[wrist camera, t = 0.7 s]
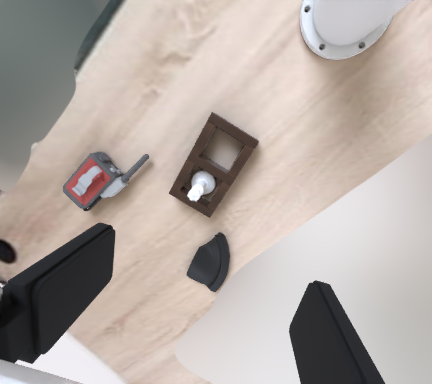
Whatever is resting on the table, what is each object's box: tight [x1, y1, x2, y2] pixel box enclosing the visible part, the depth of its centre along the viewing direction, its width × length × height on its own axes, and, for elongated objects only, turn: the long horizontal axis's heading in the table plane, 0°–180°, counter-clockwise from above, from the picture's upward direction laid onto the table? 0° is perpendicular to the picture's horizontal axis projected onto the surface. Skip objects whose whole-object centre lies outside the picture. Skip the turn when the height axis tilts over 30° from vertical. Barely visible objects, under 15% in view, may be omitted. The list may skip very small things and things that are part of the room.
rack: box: [169, 112, 259, 218], centre depth 38 cm, size 17×9×3 cm, turn 150°
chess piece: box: [187, 170, 216, 201], centre depth 36 cm, size 5×5×10 cm
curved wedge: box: [187, 233, 230, 292], centre depth 45 cm, size 8×14×2 cm, turn 154°
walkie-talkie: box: [63, 152, 149, 211], centre depth 41 cm, size 9×4×20 cm
